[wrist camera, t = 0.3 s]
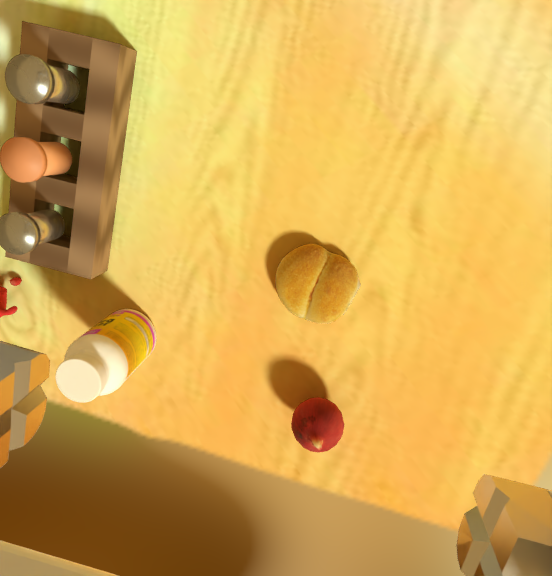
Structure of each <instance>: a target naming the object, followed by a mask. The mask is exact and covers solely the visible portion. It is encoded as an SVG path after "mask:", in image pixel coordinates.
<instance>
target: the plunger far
mask: <svg viewBox="0 0 552 576" xmlns="http://www.w3.org/2000/svg"><path fill="white" fill-rule="evenodd" d="M64 230H65V222H64V219H63V218H62V216H61V215H60V214H59V213H58V212H56V211H55V210H51V209H46V210H42V211H37V212H33V213H28V214H26V213H23V212H13V213H8V214H5V215H3V216H1V217H0V245H1V247H2V248H3V249H4V250H6V251H7V252H9V253H11V254H14V255H22V254H25V253H28V252H31V251H33V250H34V249H36V248H37V246H38V245H39V244H42V243H45V242H48V241H51V240H54V239H57V238H59V237H61V236H62V235H63V233H64Z"/></svg>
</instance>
